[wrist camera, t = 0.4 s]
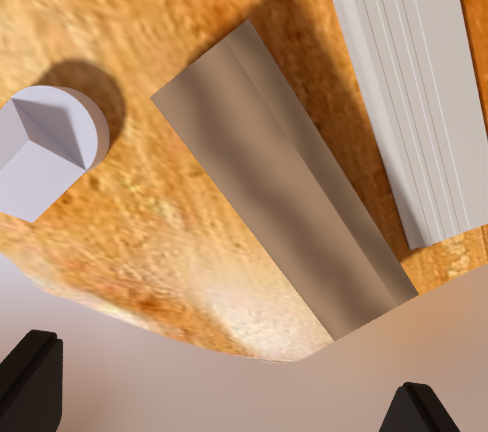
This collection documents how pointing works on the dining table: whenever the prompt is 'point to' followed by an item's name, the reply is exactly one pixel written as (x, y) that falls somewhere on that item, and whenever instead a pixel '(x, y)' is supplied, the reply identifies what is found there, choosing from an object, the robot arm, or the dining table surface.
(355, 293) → the walnut rail
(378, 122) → the baseboard molding
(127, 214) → the dining table surface
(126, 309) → the dining table surface
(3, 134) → the wedge on round base
